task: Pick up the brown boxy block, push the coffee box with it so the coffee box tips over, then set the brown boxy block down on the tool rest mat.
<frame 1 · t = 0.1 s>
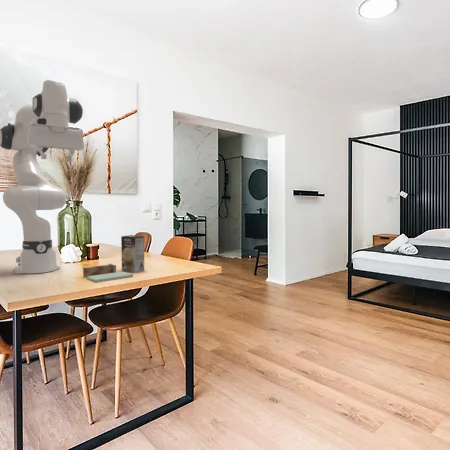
hand: (56, 160, 139), 48 cm above the table, fingers open, 8 cm apart
coffee box: (133, 270, 166), on the table
brown boxy block: (98, 275, 155), on the table
tool rest mat: (110, 277, 149), on the table
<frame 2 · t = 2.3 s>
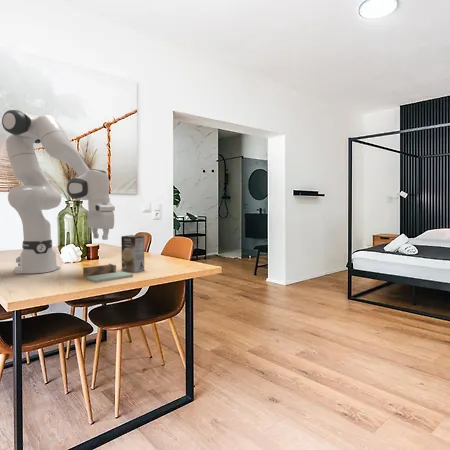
hand: (100, 239, 154), 16 cm above the table, fingers open, 8 cm apart
nothing on the table moved.
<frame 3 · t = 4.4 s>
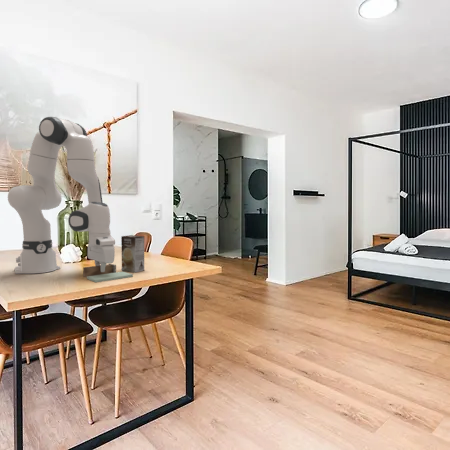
hand: (100, 271, 155), 2 cm above the table, fingers closed on brown boxy block, 2 cm apart
brown boxy block: (98, 275, 155), on the table, touching gripper
everything else where it was.
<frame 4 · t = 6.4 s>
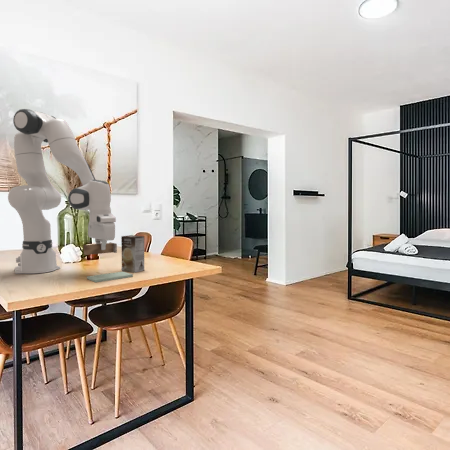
hand: (101, 249, 155), 11 cm above the table, fingers closed on brown boxy block, 2 cm apart
brown boxy block: (98, 253, 154), point 10 cm above the table, touching gripper
everything else where it was.
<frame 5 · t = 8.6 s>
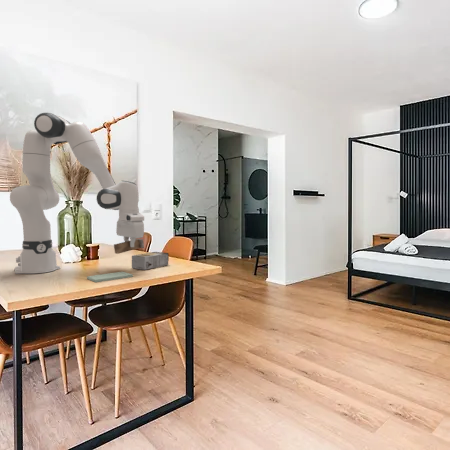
hand: (129, 246, 164), 11 cm above the table, fingers closed on brown boxy block, 3 cm apart
coffee box: (137, 262, 168), point 3 cm above the table
brown boxy block: (127, 250, 163), point 10 cm above the table, tilted 7°, touching gripper
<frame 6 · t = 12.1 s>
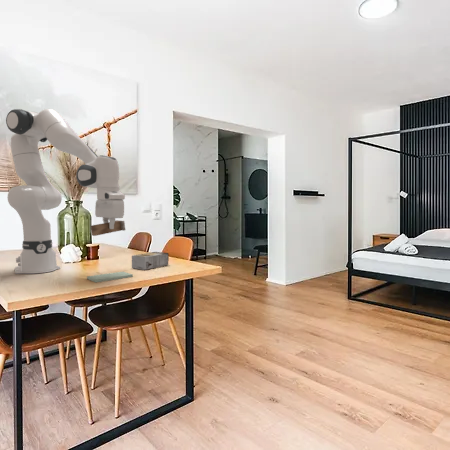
hand: (109, 228, 148), 21 cm above the table, fingers closed on brown boxy block, 3 cm apart
brown boxy block: (107, 232, 147), point 19 cm above the table, tilted 7°, touching gripper
everything else where it was.
when the fingers open (4 cm above the table, at t = 15.2 s): brown boxy block drops 1 cm, resting on tool rest mat.
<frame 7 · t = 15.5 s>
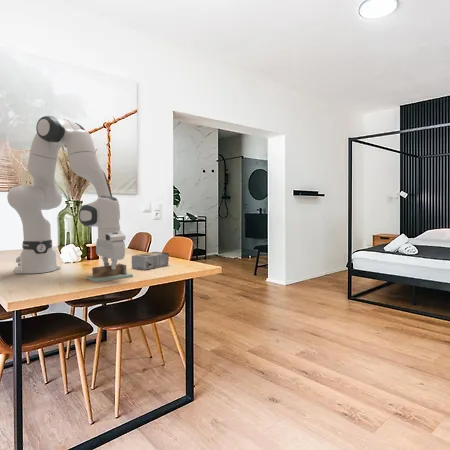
hand: (109, 268, 149), 4 cm above the table, fingers open, 5 cm apart
brown boxy block: (107, 275, 149), point 1 cm above the table, touching tool rest mat
everything else where it was.
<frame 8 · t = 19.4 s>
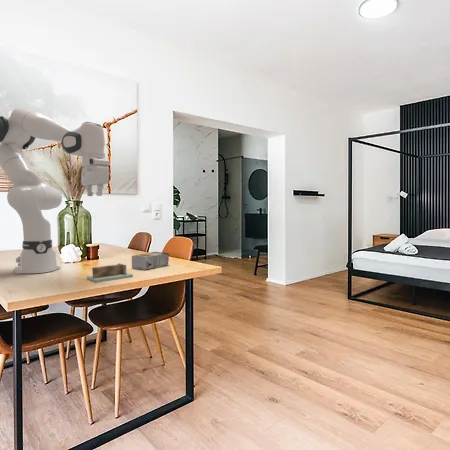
hand: (94, 196, 148), 34 cm above the table, fingers open, 8 cm apart
nothing on the table moved.
at the end: coffee box tilted 90°; brown boxy block inside the target area on the tool rest mat (0.6 cm from its centre), point 1.0 cm above the tool rest mat's base; the gripper is holding nothing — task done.
